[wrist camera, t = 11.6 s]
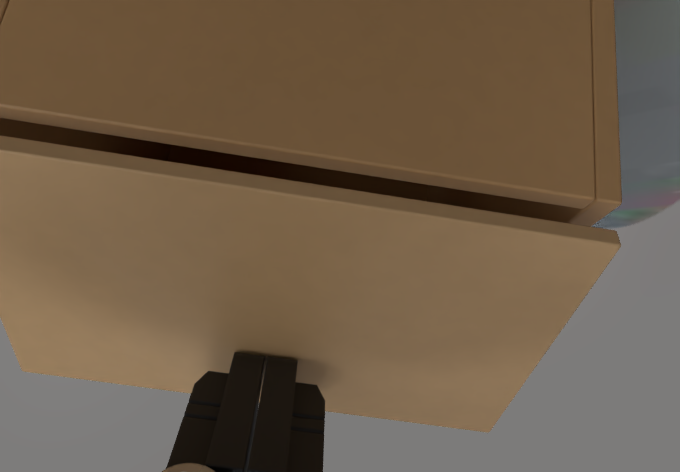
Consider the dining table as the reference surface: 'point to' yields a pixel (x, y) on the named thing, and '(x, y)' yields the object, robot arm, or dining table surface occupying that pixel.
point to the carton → (335, 93)
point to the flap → (280, 283)
